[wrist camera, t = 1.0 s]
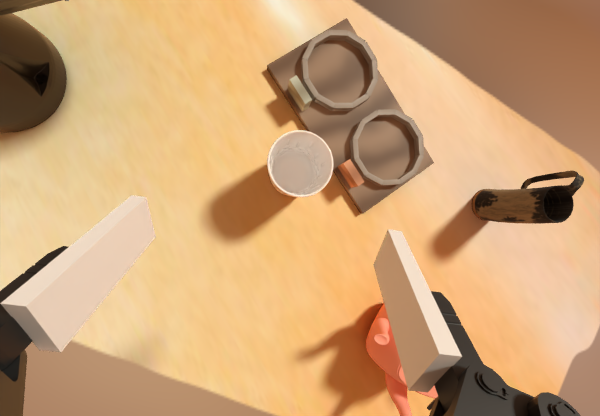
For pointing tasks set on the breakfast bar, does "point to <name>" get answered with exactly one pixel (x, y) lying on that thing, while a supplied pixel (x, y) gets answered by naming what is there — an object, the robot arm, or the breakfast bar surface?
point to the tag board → (352, 113)
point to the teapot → (390, 361)
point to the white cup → (299, 164)
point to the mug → (528, 201)
